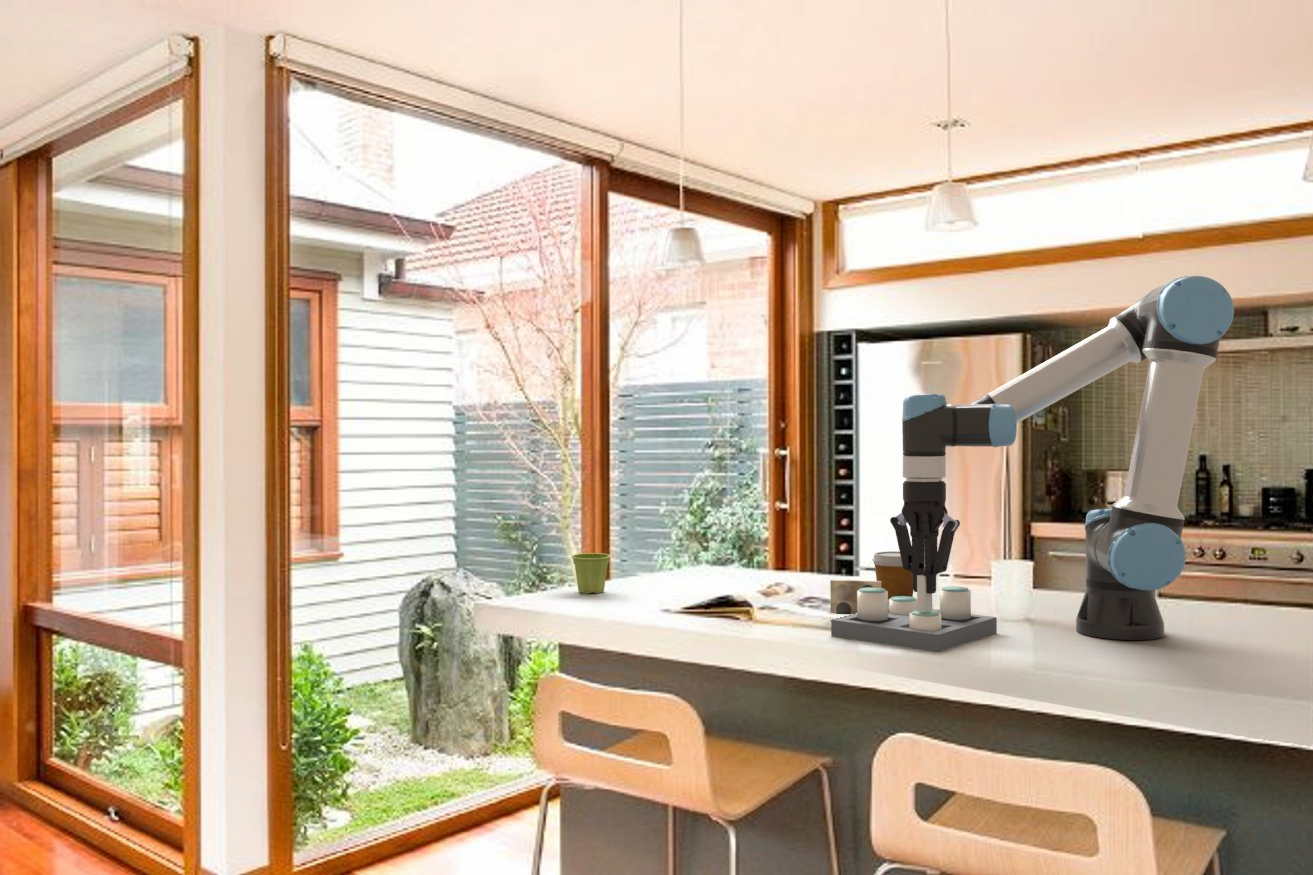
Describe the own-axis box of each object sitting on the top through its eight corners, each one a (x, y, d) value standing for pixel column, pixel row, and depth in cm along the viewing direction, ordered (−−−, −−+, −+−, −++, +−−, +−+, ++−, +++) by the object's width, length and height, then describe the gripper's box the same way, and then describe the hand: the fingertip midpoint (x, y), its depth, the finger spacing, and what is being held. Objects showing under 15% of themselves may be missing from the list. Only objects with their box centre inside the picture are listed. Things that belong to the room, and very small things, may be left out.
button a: (976, 616, 202) (976, 587, 202) (961, 620, 198) (961, 591, 198) (949, 613, 206) (948, 585, 206) (934, 617, 202) (934, 588, 202)
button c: (947, 641, 194) (947, 611, 194) (931, 646, 190) (931, 616, 190) (919, 637, 198) (919, 608, 198) (903, 642, 194) (903, 612, 194)
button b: (923, 625, 210) (923, 597, 210) (908, 629, 206) (908, 601, 206) (898, 621, 214) (898, 594, 214) (883, 625, 210) (883, 598, 210)
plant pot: (618, 590, 259) (618, 554, 259) (596, 596, 251) (595, 558, 251) (587, 587, 264) (586, 552, 264) (563, 593, 256) (563, 556, 256)
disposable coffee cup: (919, 615, 222) (919, 556, 222) (872, 614, 224) (872, 556, 224) (918, 607, 231) (917, 551, 231) (872, 606, 233) (872, 550, 233)
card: (881, 620, 216) (881, 581, 216) (881, 622, 215) (881, 581, 215) (831, 619, 218) (830, 579, 218) (830, 620, 217) (830, 580, 217)
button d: (893, 617, 202) (893, 589, 202) (877, 621, 198) (877, 592, 198) (867, 614, 206) (867, 586, 206) (851, 618, 202) (851, 589, 202)
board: (996, 633, 203) (996, 617, 202) (937, 652, 187) (937, 634, 187) (893, 619, 218) (893, 604, 218) (831, 635, 202) (831, 619, 202)
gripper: (967, 480, 192) (968, 612, 193) (903, 477, 201) (903, 604, 202) (946, 482, 187) (947, 618, 187) (881, 479, 196) (882, 609, 196)
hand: (924, 610), depth 194 cm, fingers closed
